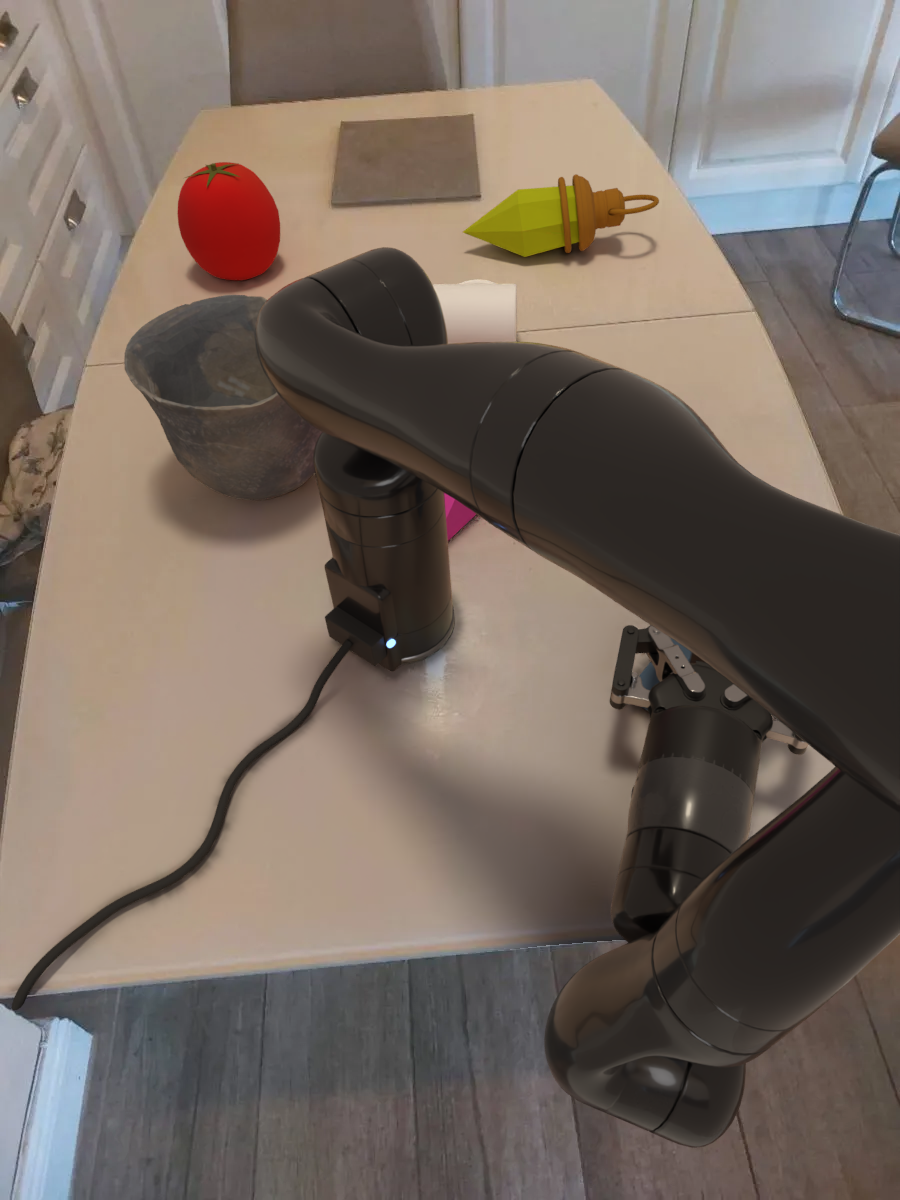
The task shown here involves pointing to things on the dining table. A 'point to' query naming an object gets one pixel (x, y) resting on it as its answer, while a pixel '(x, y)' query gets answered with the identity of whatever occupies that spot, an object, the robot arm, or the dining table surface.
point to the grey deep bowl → (220, 399)
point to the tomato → (229, 221)
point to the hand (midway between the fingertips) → (727, 611)
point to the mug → (479, 311)
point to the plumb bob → (554, 217)
